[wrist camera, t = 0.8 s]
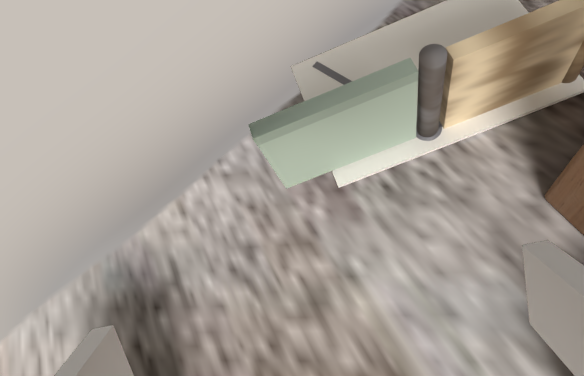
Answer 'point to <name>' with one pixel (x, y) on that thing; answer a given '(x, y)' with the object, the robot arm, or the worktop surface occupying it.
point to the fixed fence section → (499, 65)
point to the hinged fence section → (341, 124)
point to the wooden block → (570, 191)
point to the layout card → (407, 44)
